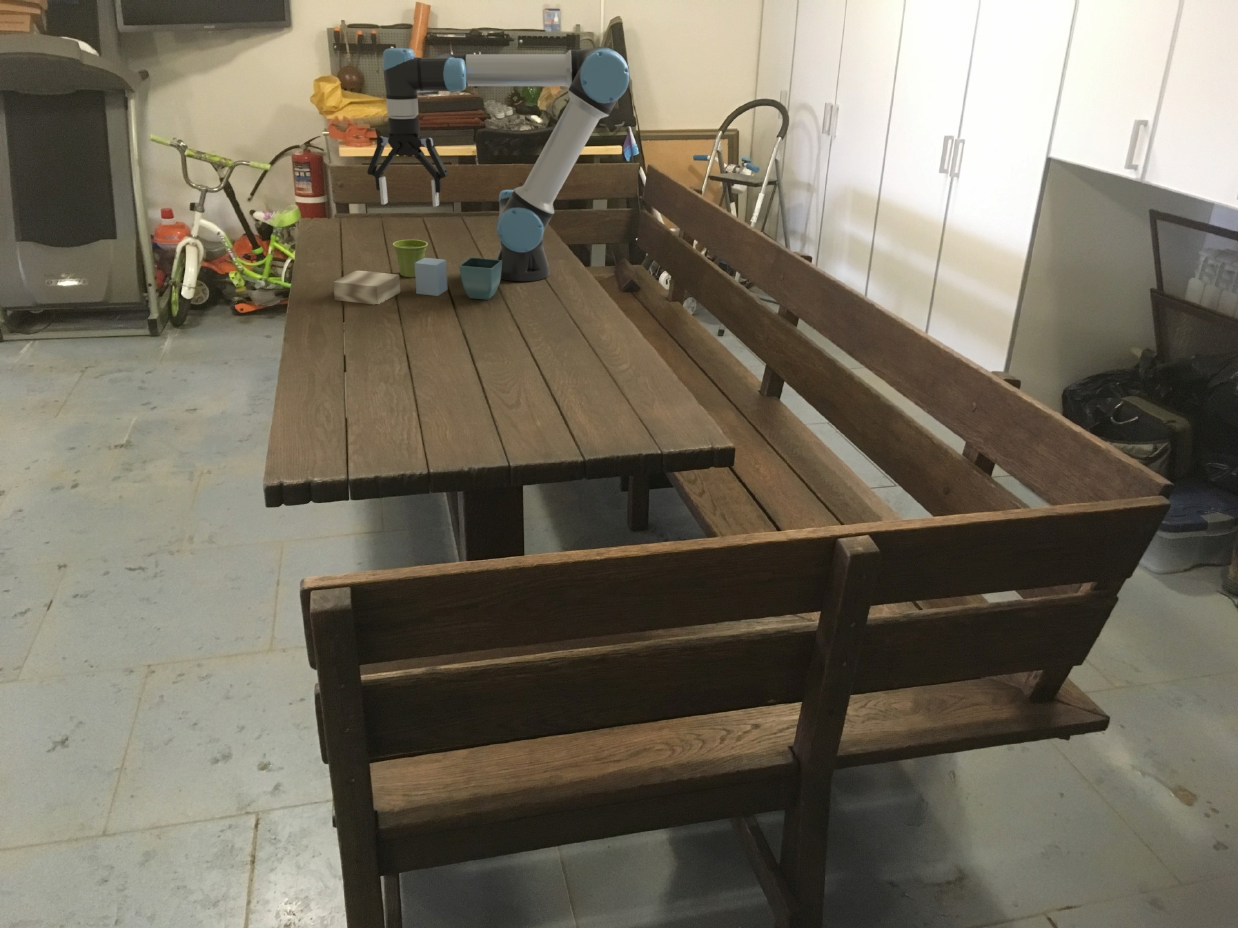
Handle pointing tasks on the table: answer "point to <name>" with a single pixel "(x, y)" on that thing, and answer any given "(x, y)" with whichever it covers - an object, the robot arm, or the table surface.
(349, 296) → the birch block
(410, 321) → the table surface
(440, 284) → the slate blue block
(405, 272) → the plant pot
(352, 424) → the table surface
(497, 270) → the flower pot
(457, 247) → the table surface
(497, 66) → the robot arm
